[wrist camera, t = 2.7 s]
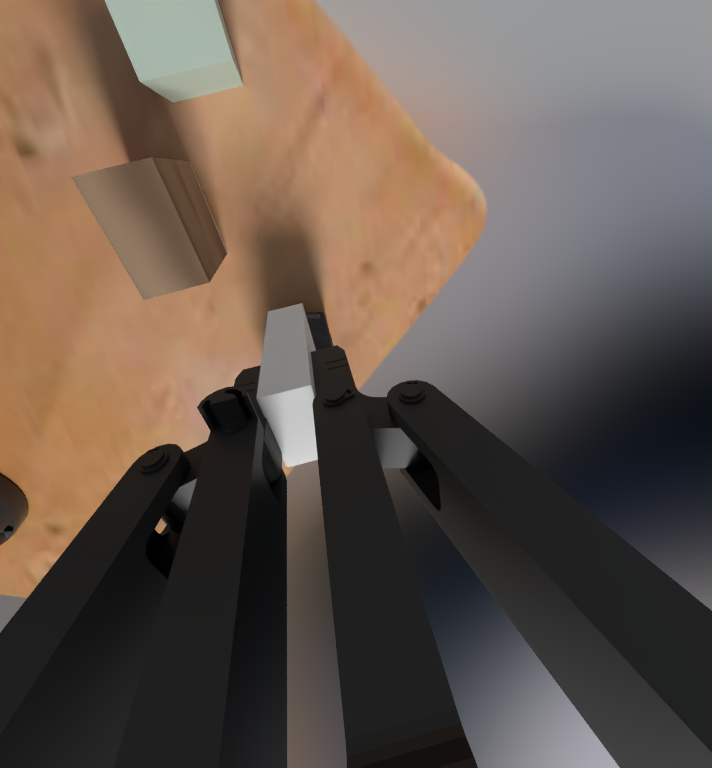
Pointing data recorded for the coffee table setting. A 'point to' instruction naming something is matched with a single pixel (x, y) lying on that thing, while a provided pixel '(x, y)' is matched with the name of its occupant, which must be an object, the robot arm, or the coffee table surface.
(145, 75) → the sage block
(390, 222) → the coffee table surface
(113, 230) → the walnut block
